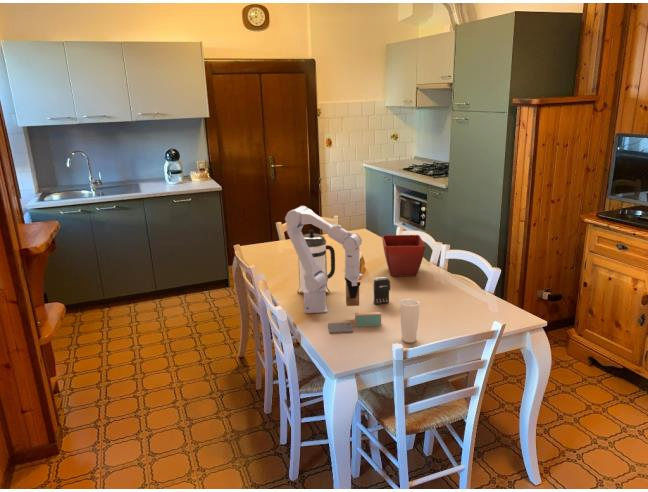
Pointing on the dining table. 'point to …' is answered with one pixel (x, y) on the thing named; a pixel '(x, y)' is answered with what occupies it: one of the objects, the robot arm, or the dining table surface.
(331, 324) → the mat
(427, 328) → the dining table surface
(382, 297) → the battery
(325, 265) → the coffee press
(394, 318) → the dining table surface
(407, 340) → the drinking glass
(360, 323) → the tile
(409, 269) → the plant pot
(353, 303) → the brown rectangular block
